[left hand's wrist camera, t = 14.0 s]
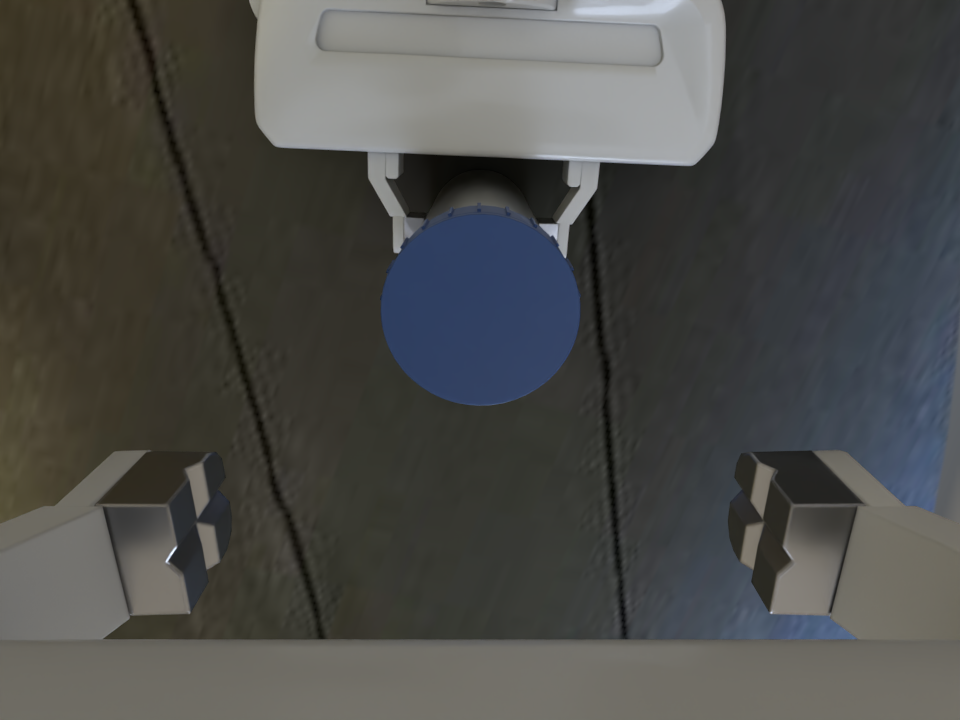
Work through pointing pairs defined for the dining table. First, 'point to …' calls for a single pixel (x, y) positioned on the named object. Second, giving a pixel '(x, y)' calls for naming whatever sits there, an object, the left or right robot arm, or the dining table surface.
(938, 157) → the dining table surface
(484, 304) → the lid
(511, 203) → the dark grey bottle
